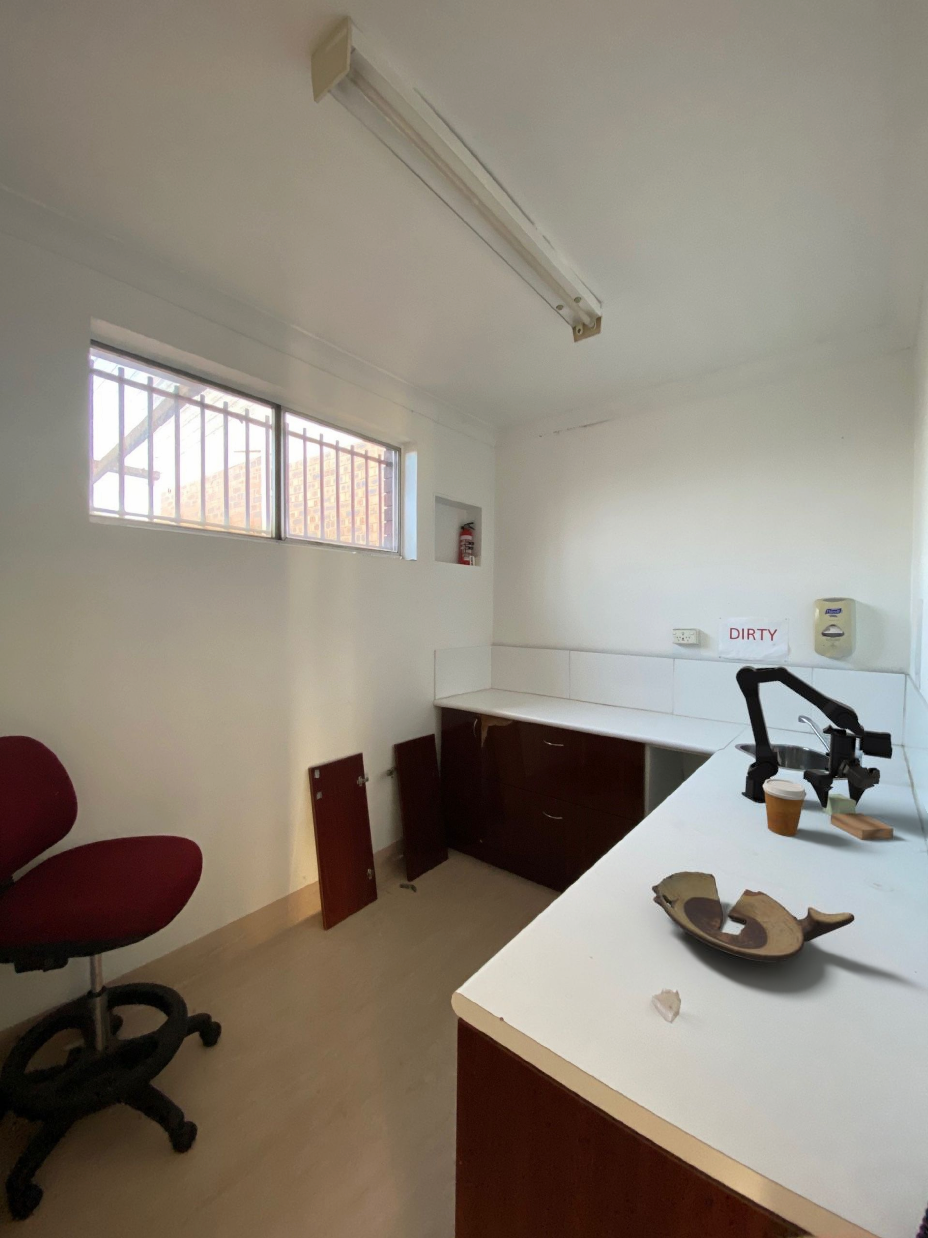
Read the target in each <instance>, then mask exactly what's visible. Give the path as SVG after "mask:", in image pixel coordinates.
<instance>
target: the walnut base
mask: <svg viewBox="0 0 928 1238" xmlns="http://www.w3.org/2000/svg"><path fill="white" fill-rule="evenodd" d="M830 824H831V825H833V826H835V827H836V828H839V829H840V830H842V831H844V832H846V833H848V834H850V835H851V836H853V837H856V838H858V839H859V840H861V841H862V840H879V839H883V840H884V839H893V838H894V827H892V826H889V825H887V824H885V823H883V822H881V821H879V820H877V819H874V818H872V817H871V816H868V815H867V814H864V813H862V812H855V813H847V814H831V815H830Z"/></svg>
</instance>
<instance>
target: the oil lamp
mask: <svg viewBox="0 0 928 1238" xmlns="http://www.w3.org/2000/svg"><path fill="white" fill-rule="evenodd" d="M651 890H652V892H653V893H654V894H655V896H653V898H652V900H653V902H654V903H655V904H657V905H658V906H660V907H661V908H662V910H663V911H664V912H665V913H666V915H667V916H668V917H669V918H670V919H671V920H672V921H673V922H674V923H675V924H676V925H677V926H678V927H679V928H680V929H682V930H683V931H684V932H686V933H688V934H689V935H691V936H692V937H693V938H696V939H697V940H699V941H701V942H703V943H704V944H706V945H709V946H711V947H713V948H715V949H717V950H720V951H723V952H725V953H727V954H731V955H733V956H737V957H740V958H744V959H747V960H750V961H758V962H769V963H770V962H771V963H772V962H782V961H787V960H790V959H792V958H794V957H796V956H797V955H799V953H801V952H802V950H803V948H804V944H805V943H807V942H810V941H814V939H817V938H819V937H822V936H824V935H826V934H829V933H831V932H833V931H836V930H839V929H841V928H844V927H845V926H848V925H850V924H851V923H853V922H854V921H855V915H854V914H853V913H851V912H839V913H826V912H822V911H819V910H818V909H816V908H813V907H811V906H808V908H807V915H806V916H805V917H804V918H801V919H800V918H799V919H798V918H797V916H795V915H793V914H792V913H791V912H790V911H789V910H788V909H786V907H785V906H784V905H782V904H781V903H779V902H778V900H776V899H774V898H773V897H771V896H770V895H768V894H767V893H765V892H763V891H761V890H759V891H753V890H751V889H747V888H746V889H745V890H744V891H743V893H742V894H741V896H740V898H739V899H738V900H736V902H735V904H734V905H733V906H732V908H731V909H730V910H729V911H728V913H727V914H726V915H727V918H729V919H730V920H733V921H735V922H739V923H746V924H745V925H744V927H743V928H742V929H740V932H739V933H738V934H735V933H729V932H723V931H720V930H719V929H720V927H721V926H722V925H723V922H724V921H723V919H724V913H723V907H722V904H721V900H720V897H719V892H718V887H717V882H716V878H715V876H714V875H713V874H712V873H706V872H702V871H701V872H700V871H685V870H684V871H678V872H674V873H672V874H670V875H668V876H666V877H665V878H663V879H662V880H661V881H660V882H659V883H658V884H655V885H652V886H651ZM736 928H739V927H738V926H736Z"/></svg>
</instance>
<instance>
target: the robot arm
mask: <svg viewBox="0 0 928 1238" xmlns="http://www.w3.org/2000/svg"><path fill="white" fill-rule="evenodd" d="M735 680H736V682H737V685H738V687H739V689H740V693H742V695H743V697H744V700H745V704H746V708H747V712H748V717H749V722H750V726H751V730H752V735H753V739H754V744H755V757H754V758H755V761H754V762H752V763H750V764H749V766H748V769H747V772H746V776H745V787H744V788H745V791H741V795H742V796H744V797H746V798H748V799H750V801H753V802H755V803H766V801H765V791H764V788H763V784H764V783H765V781H766V780H767V779H772V778H773V777H775V776H777V774H778V773H779V769H780V767H782V758H781V757H780V754H779V751H780V750H779V746H776V747H773V745H772V743H771V740H770V736H769V731H768V727H767V722H766V719H765V714H764V710H763V705H762V702H761V696H760V694H761V693H760V691H761V690H760V689H761V687H760V686H761V685H760V684H763V683H765V684H766V683H772V682H773V683H774V682H780V683H781V684H783V685H784V686H786V687H787V688H788V689H790V690H791V691H793V692H794V693H796V694H798V695H799V696H800V697H802V698H803V699H804V700H806V701H807V702H808V703H810V704H812V705H813V706H815V707H816V708H817V709H819V710H820V712H822V714H823V715H825V717H826V718H827V719H828V720H829V721H830V722H831V723H832V724H834V725H835V726H836V727H834V726H832V725H831V724H828V725H827V726H826V727H824V728H822V733H823V734H824V735H829V737H830V738H829V739H830V740H829V751H825V757H828V766H824V771H823V770H820V769H817V768H813V769H812V768H811V769H805V770H804V771H803V775H802V779H803V780H805V781H806V783H809V784H810V785H811V787H812V788H813V790H814V792H815V794H816V797H817V798H818V801H819V803H820V805H821V807H822V809H823V808H827V804H828V795H829V794H830V791H831V790H832V789H833V788H834V787H833V786H832V784H834V781H847V786H848V794H849V796H848V797H849V798H850V799H852V800H855V801H856V807H857V806H858V804H859V802H860V800H861V798H862V796H863V794H864V793H865V791H866V790H868V789H871V788H873V787H875V785H879V783H880V778H881V770H880V769H878V768H877V767H868V768H867V767H866V766H862V765H861V760H860V757H857V756H856V751H857V750H856V749H857V739H858V752H859V751H860V752H862V754H863V756H867V757H876V758H882V759H888V760H891V759H892V756H893V745H892V734H891V733H890V732H887V731H874V730H867V729H866V730H865V728H864V726H863V725H861V723H860V722H859V716H858V714H857V711H855V709H854V708H853V707H851V706H850V705H847V704H845V703H843V702H841V701H839V700H837V699H834V698H831V697H829V696H828V695H825V694H824V693H823V692H821V691H819V690H818V689H816V688H815V687H814V686H813V685H810V684H809V683H807V682H806V681H805V680H803V679H801V678H800V677H798V676H797V675H795V674H794V673H793V672H791V671H789V669H788V668H787V667H785V666H781V665H780V666H773V667H772V666H771V667H757V668H755V667H754V666H752V665H744V666H742V667H741V668H740V669H739V670H738V671H737V672H736V674H735ZM847 730H848V731H849V732H848V731H847ZM825 771H826V772H825Z"/></svg>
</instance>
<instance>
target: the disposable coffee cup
mask: <svg viewBox="0 0 928 1238" xmlns="http://www.w3.org/2000/svg"><path fill="white" fill-rule="evenodd" d="M763 788H764V791H765V801H766V802H765V808H766V809H765V811H766V813H765V814H766V824H767V829H768V830H769V831H770V832H771V833H774V834H777V835H780V836H785V837H794V836H796V835H798V834H797V832H798V829H799V824H800V819H801V815H802V809H803V805H804V799H806V796H807V794H808V793H807V792H806V789H805V786H803V785H801V784H800V783H797V782H794V781H791V780H787V779H782V778H771V779H767V780H766V781H765V783H764V784H763Z"/></svg>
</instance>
